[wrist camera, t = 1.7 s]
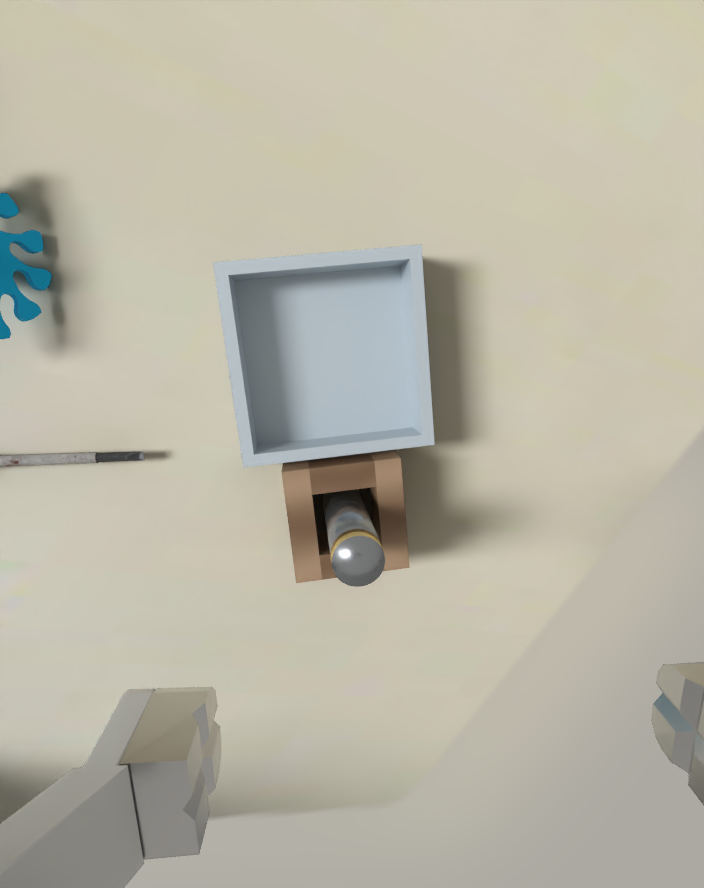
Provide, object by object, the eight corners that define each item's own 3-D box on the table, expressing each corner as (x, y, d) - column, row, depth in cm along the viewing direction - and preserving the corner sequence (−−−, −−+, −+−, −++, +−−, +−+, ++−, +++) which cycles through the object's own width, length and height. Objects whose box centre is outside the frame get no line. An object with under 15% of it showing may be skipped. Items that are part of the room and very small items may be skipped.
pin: (363, 517, 40) (387, 582, 29) (324, 522, 39) (334, 590, 29) (359, 479, 39) (383, 532, 28) (320, 484, 39) (328, 539, 28)
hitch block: (397, 542, 40) (409, 567, 36) (296, 556, 40) (296, 583, 35) (389, 444, 39) (400, 457, 34) (283, 456, 38) (281, 472, 34)
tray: (420, 434, 39) (434, 444, 35) (249, 454, 38) (243, 467, 34) (408, 254, 36) (421, 244, 32) (222, 271, 35) (213, 262, 31)
